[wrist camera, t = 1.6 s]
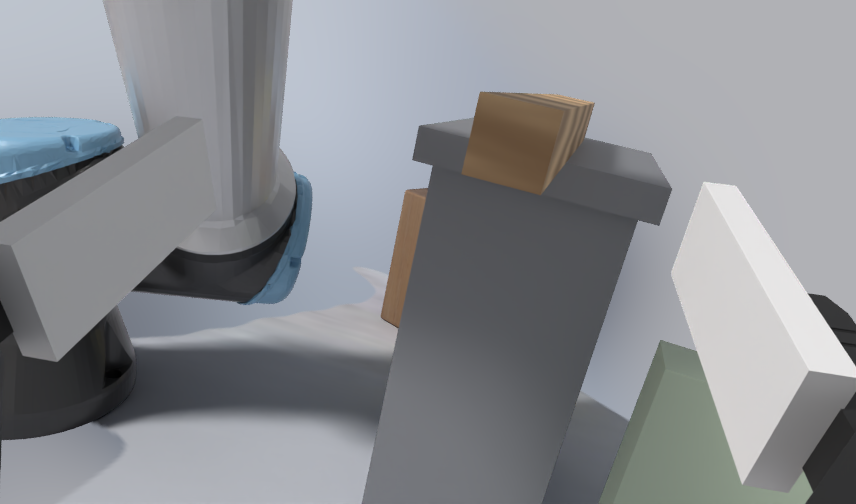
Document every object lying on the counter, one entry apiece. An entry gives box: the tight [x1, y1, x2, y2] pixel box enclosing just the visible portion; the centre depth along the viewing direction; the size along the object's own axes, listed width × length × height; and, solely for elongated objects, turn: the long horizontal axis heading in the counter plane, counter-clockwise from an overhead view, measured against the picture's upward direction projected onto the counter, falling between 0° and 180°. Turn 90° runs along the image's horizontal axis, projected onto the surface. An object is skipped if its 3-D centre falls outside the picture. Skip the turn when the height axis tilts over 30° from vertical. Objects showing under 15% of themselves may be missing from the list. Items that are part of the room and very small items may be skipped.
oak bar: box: [461, 92, 594, 195], centre depth 33 cm, size 28×3×3 cm, turn 162°
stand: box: [362, 118, 672, 504], centre depth 45 cm, size 20×14×30 cm
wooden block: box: [381, 188, 428, 328], centre depth 72 cm, size 9×4×18 cm, turn 51°
